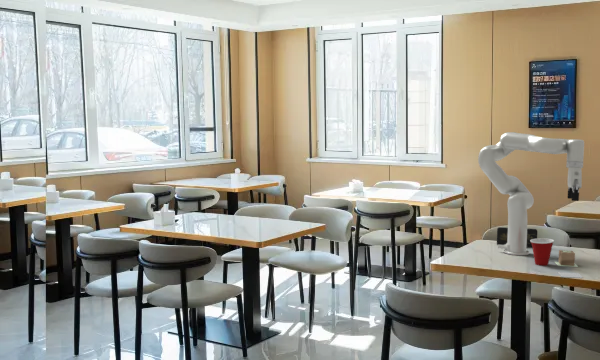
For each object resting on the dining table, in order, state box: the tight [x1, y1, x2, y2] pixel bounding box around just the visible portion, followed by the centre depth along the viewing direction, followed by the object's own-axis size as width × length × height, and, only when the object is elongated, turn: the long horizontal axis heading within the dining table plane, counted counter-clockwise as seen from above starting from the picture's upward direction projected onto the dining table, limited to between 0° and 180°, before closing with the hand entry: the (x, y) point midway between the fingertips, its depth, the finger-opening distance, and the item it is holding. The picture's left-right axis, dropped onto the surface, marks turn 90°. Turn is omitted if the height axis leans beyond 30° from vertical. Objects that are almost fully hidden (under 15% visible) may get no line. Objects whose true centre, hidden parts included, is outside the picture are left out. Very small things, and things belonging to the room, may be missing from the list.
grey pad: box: [557, 271, 584, 279], centre depth 290 cm, size 9×9×1 cm
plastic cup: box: [530, 237, 555, 267], centre depth 312 cm, size 11×11×12 cm
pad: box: [554, 261, 579, 268], centre depth 313 cm, size 9×9×1 cm
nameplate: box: [496, 226, 538, 248], centre depth 359 cm, size 21×2×10 cm, turn 77°
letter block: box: [558, 249, 576, 267], centre depth 313 cm, size 6×6×6 cm
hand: (573, 199), depth 320 cm, fingers open, 9 cm apart
